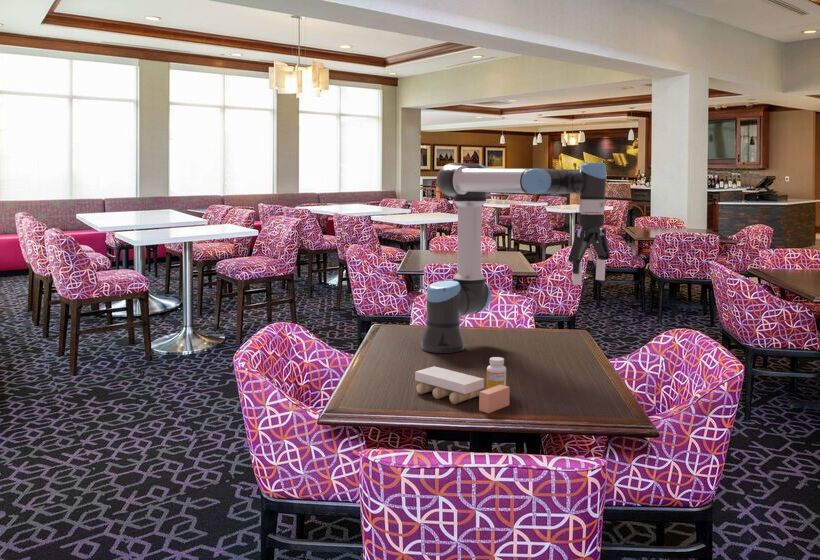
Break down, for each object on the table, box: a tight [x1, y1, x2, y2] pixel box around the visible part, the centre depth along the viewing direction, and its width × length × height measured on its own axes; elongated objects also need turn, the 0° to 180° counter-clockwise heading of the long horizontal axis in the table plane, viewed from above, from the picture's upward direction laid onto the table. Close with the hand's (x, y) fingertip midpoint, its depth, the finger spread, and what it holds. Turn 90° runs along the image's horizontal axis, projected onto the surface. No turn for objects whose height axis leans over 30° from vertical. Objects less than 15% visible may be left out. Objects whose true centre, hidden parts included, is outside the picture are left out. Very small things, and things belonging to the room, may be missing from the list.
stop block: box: [478, 384, 511, 414], centre depth 177 cm, size 3×9×5 cm, turn 137°
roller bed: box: [416, 382, 482, 405], centre depth 188 cm, size 15×10×3 cm, turn 46°
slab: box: [414, 366, 485, 394], centre depth 187 cm, size 18×8×2 cm, turn 46°
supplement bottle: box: [485, 356, 507, 390], centre depth 190 cm, size 5×5×10 cm
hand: (588, 282), depth 212 cm, fingers open, 13 cm apart
